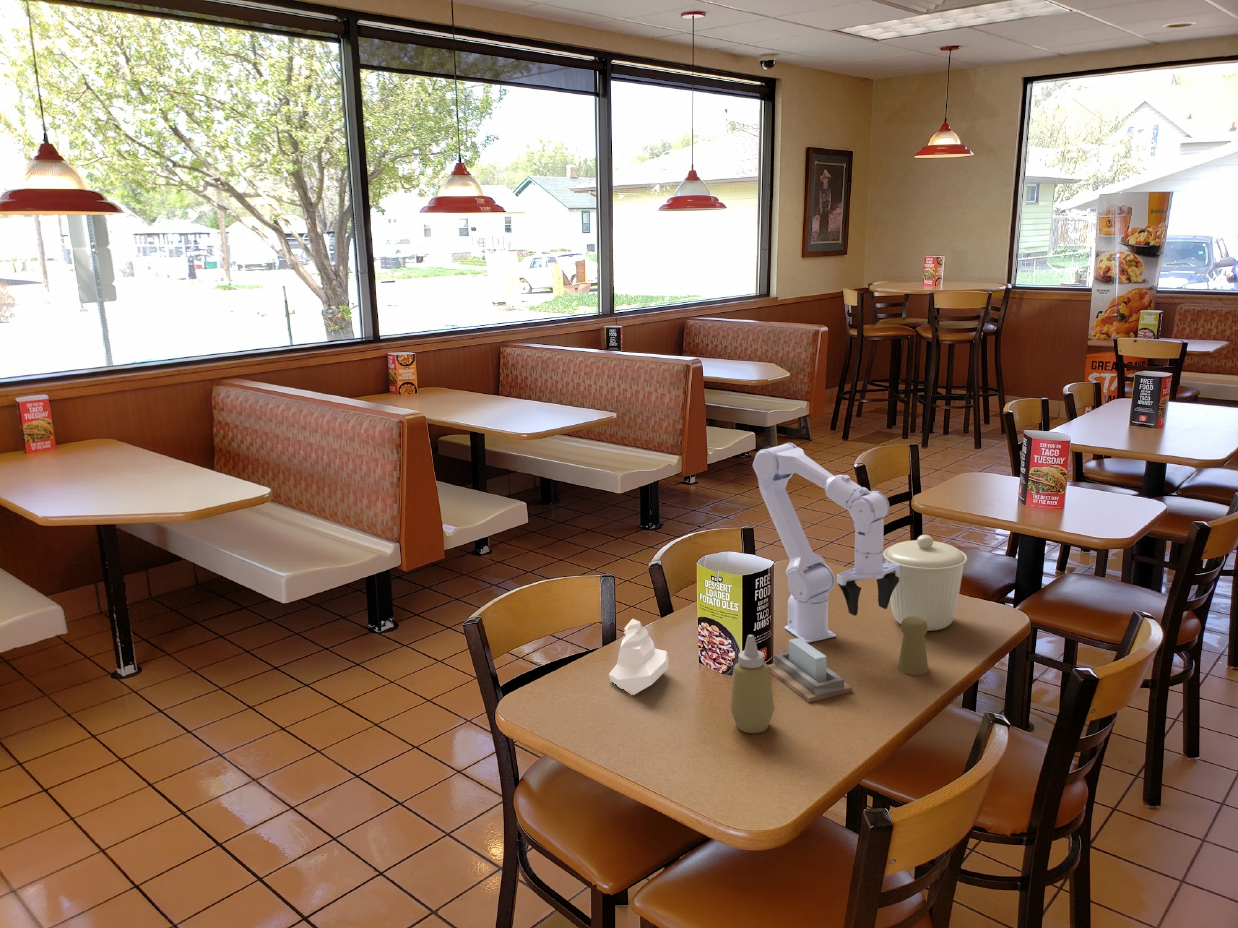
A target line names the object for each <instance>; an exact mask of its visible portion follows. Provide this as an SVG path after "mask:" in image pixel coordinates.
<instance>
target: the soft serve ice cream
mask: <svg viewBox="0 0 1238 928" xmlns="http://www.w3.org/2000/svg"><path fill="white" fill-rule="evenodd" d="M623 629H624V631H623V634H625V636H624V637H623V639H622V640H621V643H620V648H619V652H618V655H617V656H618V657H617V663H616V664H615V665H614V667H613V668H612V669H611V671H610V672H609V673H608V676H609V681H610V682H611V681H612V682H613V683H614V684H613V683H612V684H613V685H615V684H616V685H617V686H616V685H615V686H616V687H618V688H620V689H621V690H622V689H624V690H625V691H627V692H629V693H631V694H633V696H635V695H636V694H638V693H640V692H641V691H643V690H644V689H647V688H649V687H650V686H652V685H653V684H654V683H655V682H656V681H657V680H658V679H659V678H660V677H661V676H662V675H663V674H664V673H665V672H666V671H667V670H668V668H669V661H670V660H669V655H668V651H667V650H662V649H658V648H656V647H655V642H654V640H652V637H650V636H649V633H648V630H647V628H646V627H644V626H642V622H641V621H640V620H637V619H634V618H632V619H631V620H630V621H629V622H628V623H627V624H626V626H625V627H624V628H623ZM624 690H623V691H624ZM625 691H624V692H625Z"/></svg>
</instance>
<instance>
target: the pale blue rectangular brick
mask: <svg viewBox="0 0 1238 928" xmlns="http://www.w3.org/2000/svg"><path fill="white" fill-rule="evenodd" d="M788 652H789V661H790V662H791V663H792V664H794V665H795V666H796V667H798V668H799V669H800V670H802V671H803V672H805V673H806V674H807V675H809V676H810V677H811V678H813V679H814V680H815V681H817V682H818V683H821V682H825V681H826V667H827V656H826V654H823V653H822V652H821V651H819V650H818V649H816V648H815V647H813V646H812V645H810V644H809V643H806V642H805V641H803V640H802V639H800V638H798V637H795V638H791V639H789V640H788Z"/></svg>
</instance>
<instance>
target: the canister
mask: <svg viewBox="0 0 1238 928" xmlns="http://www.w3.org/2000/svg"><path fill="white" fill-rule="evenodd" d="M883 559H885V560H886V564H890V563H896V564H898V565H900V574H897V575H896V574H895V576H897V577H899V583H898V584H897V585H896V587H895V588H894V590H893V592H892V595H891V597H890V600H889V602H890V606H891V612H892V613H891V614H892V615H893V618H894V619H895V620H896V622H897V623H898V624H900V625H901V623H902V621H903V619H904V618H907V617H919V618H922V619H924V620H925V621H926V623H927V632H930V631H931V632H932V631H933V632H934V631H938V630H939V631H940V630H943V629H945V628H947V627H948V626H950V625H951V624H952V623H953V621H954V619H955V615H956V613H957V607H958V602H959V597H960V596H959V595H960V590H961V584H962V580H963V579H962V578H963V573H964V572H963V571H964V565H965V564H966V563H967V561H968V556H967V554H966V553H965V552H963V551H962V550H960V549H959V548H958V547H956V546H953V545H951V544H949V543H946V542H941V541H935V540H934V538H933V537H932V536H930V535H928V534H921V535H919V536H918V537H917V539H915V540H906V541H905V540H904V541H901V542H897V543H895V544H893V545H891V546H888V547H887V548H885V550H883Z"/></svg>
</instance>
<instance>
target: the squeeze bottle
mask: <svg viewBox="0 0 1238 928" xmlns="http://www.w3.org/2000/svg"><path fill="white" fill-rule="evenodd" d="M764 654H765V653H764V652H763V651H761V650H758V645H757V642H756V639H755V635H754V634H748V635H747V638H746V642H745V646H744V650H742V651H739V653H738V655H737V656H738V659H737V660H738V662H737V663H735V664H734V666H733V669H732V680H731V681H732V682H731V693H730V705H729V709H730V711H731V715H732V717H733V720H734V722H735V724H736V728H737V729H739V730H740V731H741V732H744V733H747V734H748V733H749V734H759V733H762V732H765V731H767V729H768V727H769V725H770V722H771V720H772V717H773V714H774V711H775V705H774V703H775V702H774V695H773V688H772V681H771V679H772V678H771V673H770V669H769V667H768V665H769V664H767V663H766V662H765V655H764Z"/></svg>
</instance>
